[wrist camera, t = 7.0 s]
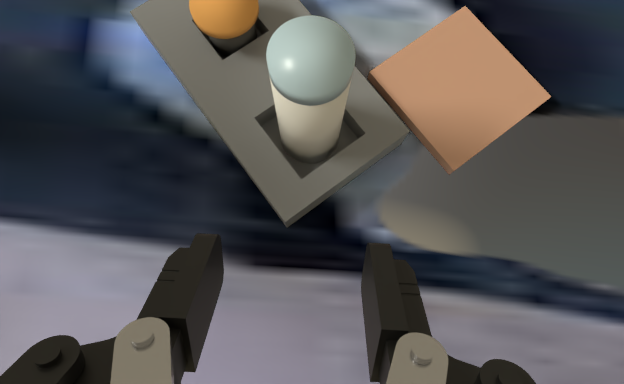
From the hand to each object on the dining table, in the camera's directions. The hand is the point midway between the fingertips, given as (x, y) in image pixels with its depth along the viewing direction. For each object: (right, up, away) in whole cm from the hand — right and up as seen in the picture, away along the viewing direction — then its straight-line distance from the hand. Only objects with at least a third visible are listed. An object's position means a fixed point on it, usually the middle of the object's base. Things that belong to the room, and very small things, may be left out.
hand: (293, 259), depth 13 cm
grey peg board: (-3, +12, +21) cm, 24 cm away
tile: (+13, +11, +21) cm, 28 cm away
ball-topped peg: (0, +7, +19) cm, 21 cm away
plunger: (-6, +16, +21) cm, 27 cm away
